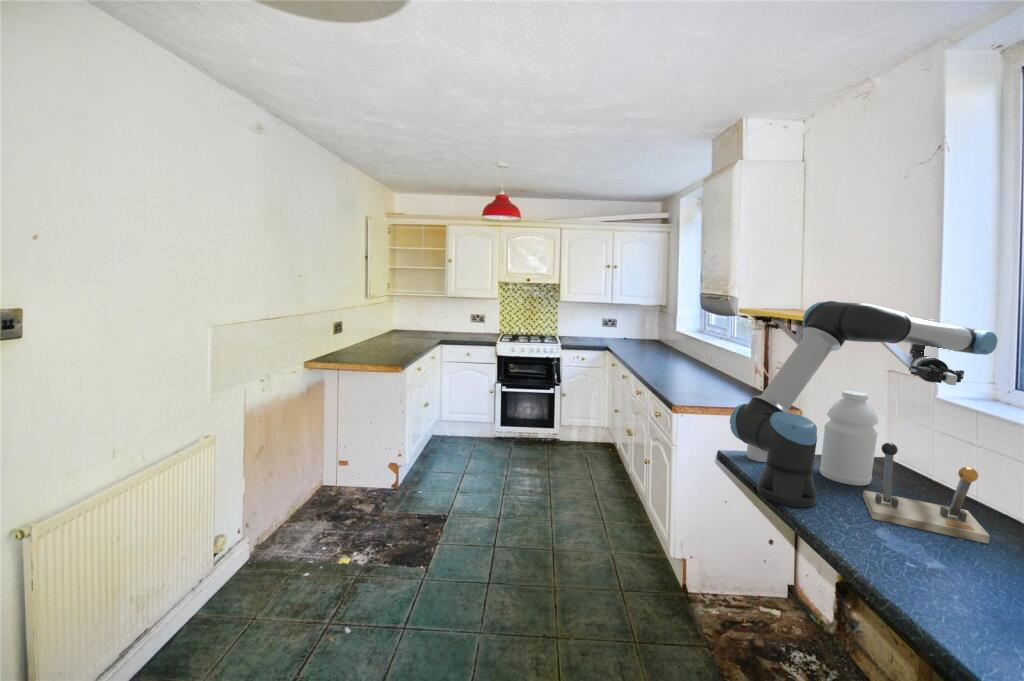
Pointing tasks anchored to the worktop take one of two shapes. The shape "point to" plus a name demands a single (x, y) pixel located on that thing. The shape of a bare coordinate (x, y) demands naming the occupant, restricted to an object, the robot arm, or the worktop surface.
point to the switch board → (925, 516)
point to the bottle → (849, 440)
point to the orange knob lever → (962, 489)
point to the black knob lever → (888, 469)
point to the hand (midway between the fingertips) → (953, 380)
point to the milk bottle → (756, 454)
